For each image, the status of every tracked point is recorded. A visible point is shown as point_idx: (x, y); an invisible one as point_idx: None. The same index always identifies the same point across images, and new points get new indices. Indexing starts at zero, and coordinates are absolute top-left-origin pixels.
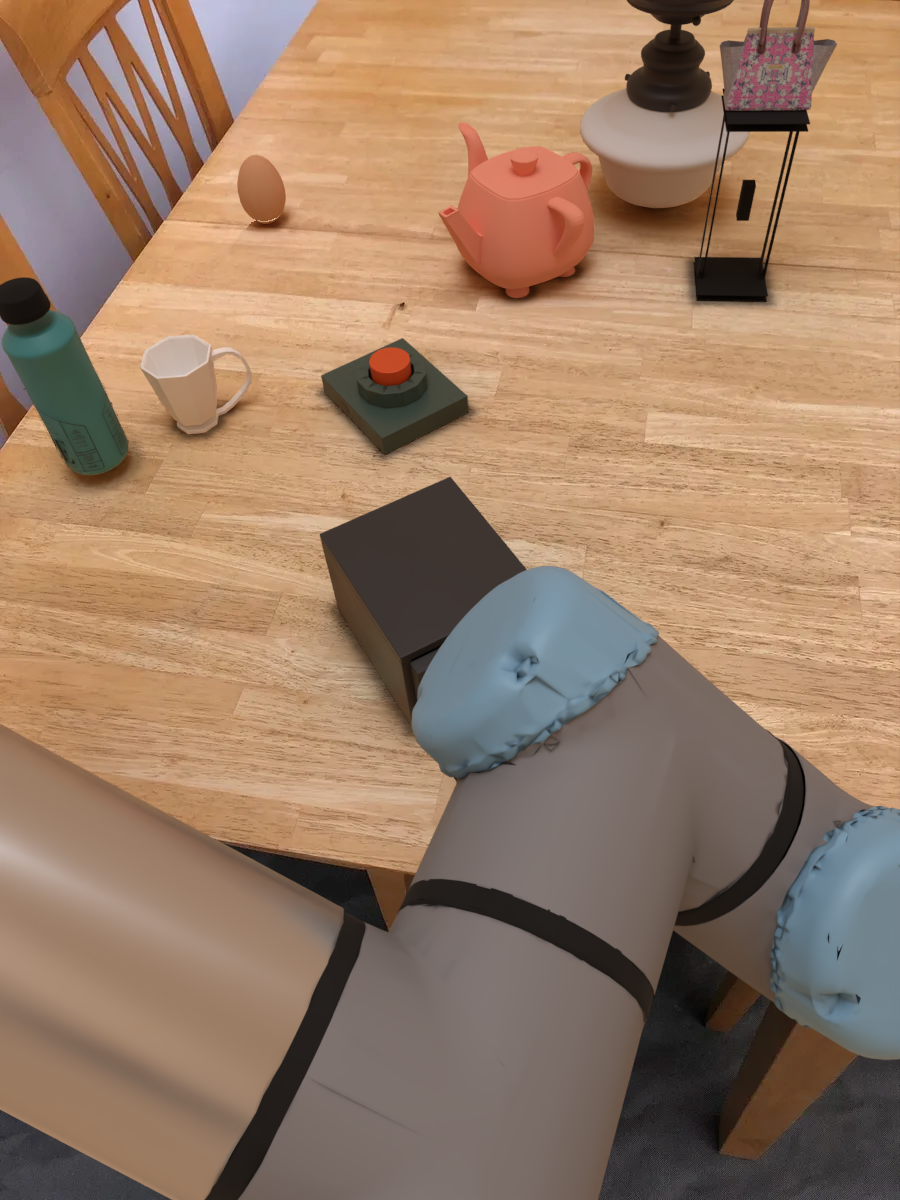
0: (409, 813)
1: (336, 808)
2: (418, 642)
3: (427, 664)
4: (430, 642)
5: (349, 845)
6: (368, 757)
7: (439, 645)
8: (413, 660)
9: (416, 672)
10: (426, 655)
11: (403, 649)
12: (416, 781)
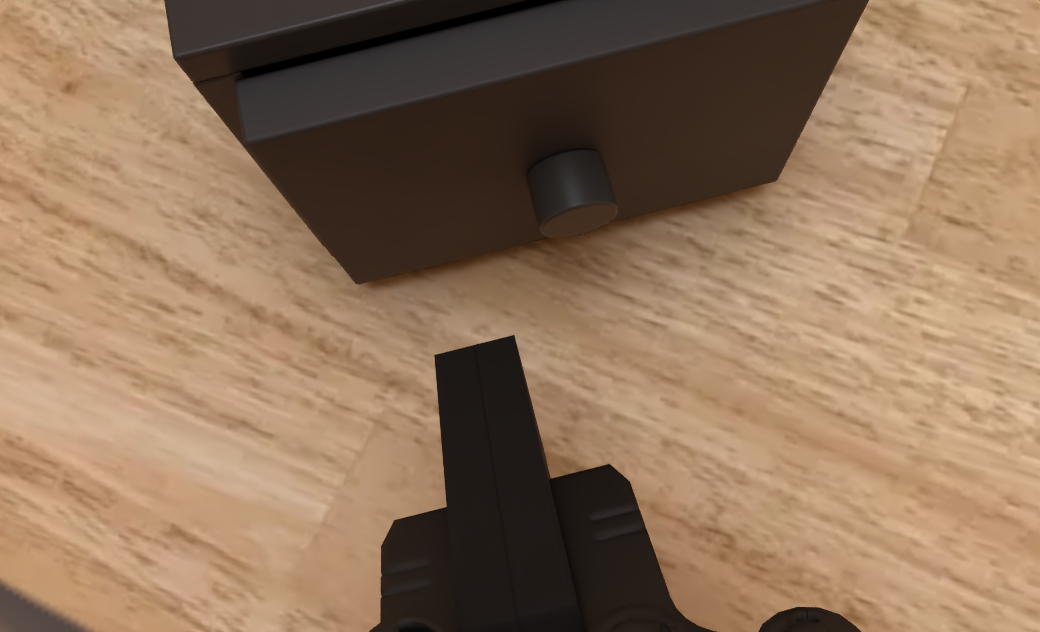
0: (235, 528)
1: (41, 446)
2: (275, 3)
3: (299, 109)
4: (324, 16)
5: (37, 576)
6: (180, 311)
7: (372, 37)
8: (301, 63)
9: (242, 135)
10: (309, 67)
11: (201, 19)
12: (289, 430)
